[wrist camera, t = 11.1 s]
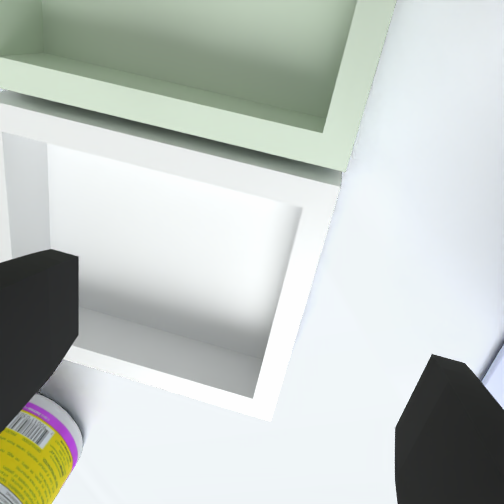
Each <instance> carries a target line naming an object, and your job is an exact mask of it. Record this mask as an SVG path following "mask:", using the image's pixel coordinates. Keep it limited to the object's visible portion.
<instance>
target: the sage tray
mask: <svg viewBox="0 0 504 504" xmlns="http://www.w3.org/2000/svg"><path fill="white" fill-rule="evenodd" d="M396 2H397V0H0V88H2V89H6V90H10V91H14V92H18V93H22V94H26V95H30V96H34V97H39V98H43V99H47V100H51V101H55V102H59V103H63V104H67V105H71V106H76V107H80V108H84V109H88V110H92V111H96V112H100V113H104V114H108V115H113V116H117V117H121V118H125V119H129V120H133V121H137V122H141V123H145V124H149V125H154V126H158V127H162V128H166V129H170V130H174V131H178V132H182V133H186V134H191V135H195V136H199V137H203V138H207V139H211V140H215V141H219V142H223V143H228V144H232V145H236V146H240V147H244V148H248V149H252V150H256V151H260V152H265V153H269V154H273V155H277V156H281V157H285V158H289V159H293V160H297V161H302V162H306V163H310V164H314V165H318V166H322V167H326V168H330V169H334V170H339V171H343V172H346V169H347V165H348V162H349V159H350V155H351V152H352V149H353V145H354V142H355V138H356V135H357V132H358V128H359V125H360V122H361V118H362V115H363V112H364V108H365V105H366V102H367V98H368V95H369V92H370V88H371V85H372V82H373V78H374V75H375V72H376V68H377V65H378V62H379V58H380V55H381V52H382V48H383V45H384V42H385V38H386V35H387V32H388V28H389V25H390V22H391V18H392V15H393V12H394V8H395V5H396Z"/></svg>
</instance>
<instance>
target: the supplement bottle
mask: <svg viewBox="0 0 504 504" xmlns="http://www.w3.org/2000/svg"><path fill="white" fill-rule="evenodd" d="M82 448H83V440H82V435H81V432H80V430H79V428H78V426H77V424H76V423H75V421H74V420H73V419H72V417H71V416H70V415H69V414H68V413H67V412H66V411H65V410H64V409H63V408H62V407H61V406H59V405H58V404H57V403H55V402H54V401H52V400H50V399H49V398H47V397H45V396H42V395H40V394H37V393H36V394H35V395H34V396H33V397H32V398H31V400H30V401H29V402H28V403H27V404H26V405H25V406H24V408H23V409H22V410H21V411H20V412H19V413H18V414H17V416H16V417H15V418H14V419H13V420H12V421H11V422H10V423H9V425H8V426H7V427H6V428H5V429H4V430H3V431H2V432H1V434H0V504H52V502H53V501H54V499H55V497H56V496H57V494H58V493H59V491H60V489H61V488H62V486H63V485H64V483H65V482H66V480H67V478H68V477H69V475H70V473H71V472H72V470H73V468H74V467H75V465H76V463H77V462H78V460H79V458H80V456H81V453H82Z"/></svg>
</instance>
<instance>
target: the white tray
mask: <svg viewBox="0 0 504 504" xmlns="http://www.w3.org/2000/svg"><path fill="white" fill-rule="evenodd" d="M341 180H342V171H339V170H334V169H330V168H326V167H322V166H318V165H314V164H310V163H306V162H302V161H297V160H293V159H289V158H285V157H281V156H277V155H273V154H269V153H265V152H260V151H256V150H252V149H248V148H244V147H240V146H236V145H232V144H228V143H223V142H219V141H215V140H211V139H207V138H203V137H199V136H195V135H191V134H186V133H182V132H178V131H174V130H170V129H166V128H162V127H158V126H154V125H149V124H145V123H141V122H137V121H133V120H129V119H125V118H121V117H117V116H113V115H108V114H104V113H100V112H96V111H92V110H88V109H84V108H80V107H76V106H71V105H67V104H63V103H59V102H55V101H51V100H47V99H43V98H39V97H34V96H30V95H26V94H22V93H18V92H14V91H10V90H7V91H1V92H0V263H1V262H4V261H8V260H11V259H14V258H18V257H21V256H25V255H28V254H32V253H36V252H39V251H44V250H49V249H54V250H57V251H61V252H64V253H68V254H72V255H75V256H79V335H78V337H77V338H76V340H75V341H74V343H73V344H72V346H71V347H70V349H69V350H68V352H67V354H66V355H65V357H64V358H63V360H67V361H70V362H73V363H77V364H80V365H83V366H87V367H90V368H93V369H97V370H100V371H103V372H107V373H110V374H113V375H117V376H120V377H123V378H127V379H130V380H133V381H137V382H140V383H143V384H147V385H150V386H153V387H157V388H160V389H163V390H167V391H170V392H173V393H177V394H180V395H183V396H187V397H190V398H193V399H197V400H200V401H203V402H207V403H210V404H213V405H217V406H220V407H223V408H227V409H230V410H233V411H237V412H240V413H243V414H246V415H250V416H253V417H256V418H260V419H263V420H266V421H270V422H271V419H272V416H273V412H274V409H275V406H276V402H277V399H278V396H279V392H280V389H281V386H282V382H283V379H284V376H285V372H286V369H287V366H288V362H289V359H290V356H291V352H292V349H293V346H294V342H295V339H296V336H297V332H298V329H299V326H300V322H301V319H302V316H303V312H304V309H305V306H306V302H307V299H308V296H309V292H310V289H311V285H312V282H313V279H314V275H315V272H316V269H317V265H318V262H319V259H320V255H321V252H322V249H323V245H324V242H325V239H326V235H327V232H328V229H329V225H330V222H331V219H332V215H333V212H334V209H335V205H336V202H337V199H338V195H339V192H340V189H341Z"/></svg>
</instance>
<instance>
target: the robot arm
mask: <svg viewBox="0 0 504 504" xmlns="http://www.w3.org/2000/svg"><path fill="white" fill-rule="evenodd" d="M78 335H79V256H75V255H72V254H68V253H64V252H61V251H57V250H54V249H49V250H44V251H39V252H36V253H32V254H28V255H25V256H21V257H18V258H14V259H11V260H8V261H4V262H1V263H0V434H1V432H2V431H3V430H4V429H5V428H6V427H7V426H8V425H9V423H10V422H11V421H12V420H13V419H14V418H15V417H16V416H17V414H18V413H19V412H20V411H21V410H22V409H23V408H24V406H25V405H26V404H27V403H28V402H29V401H30V400H31V398H32V397H33V396H34V395H35V394H36V393H37V392H38V390H39V389H40V388H41V387H42V386H43V385H44V383H45V382H46V381H47V380H48V379H49V378H50V376H51V375H52V374H53V372H54V371H55V370H56V368H57V367H58V365H59V364H60V362H61V361H62V359H63V358H64V357H65V355H66V354H67V352H68V350H69V349H70V347H71V346H72V344H73V343H74V341H75V340H76V338H77V337H78ZM395 484H396V493H397V502H398V504H504V344H503V346H502V348H501V349H500V351H499V353H498V354H497V356H496V358H495V360H494V361H493V363H492V365H491V366H490V368H489V370H488V371H487V373H486V375H485V376H484V378H483V380H482V382H481V381H480V380H479V379H478V378H477V376H476V375H475V374H474V373H473V372H472V371H471V370H470V368H469V367H468V366H467V365H466V364H465V363H462V362H459V361H455V360H451V359H448V358H444V357H441V356H437V355H433V354H432V355H431V357H430V359H429V361H428V363H427V365H426V367H425V369H424V371H423V373H422V375H421V377H420V379H419V381H418V383H417V385H416V387H415V389H414V391H413V393H412V395H411V397H410V399H409V401H408V403H407V405H406V407H405V409H404V411H403V413H402V415H401V417H400V419H399V421H398V423H397V425H396V427H395Z"/></svg>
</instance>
